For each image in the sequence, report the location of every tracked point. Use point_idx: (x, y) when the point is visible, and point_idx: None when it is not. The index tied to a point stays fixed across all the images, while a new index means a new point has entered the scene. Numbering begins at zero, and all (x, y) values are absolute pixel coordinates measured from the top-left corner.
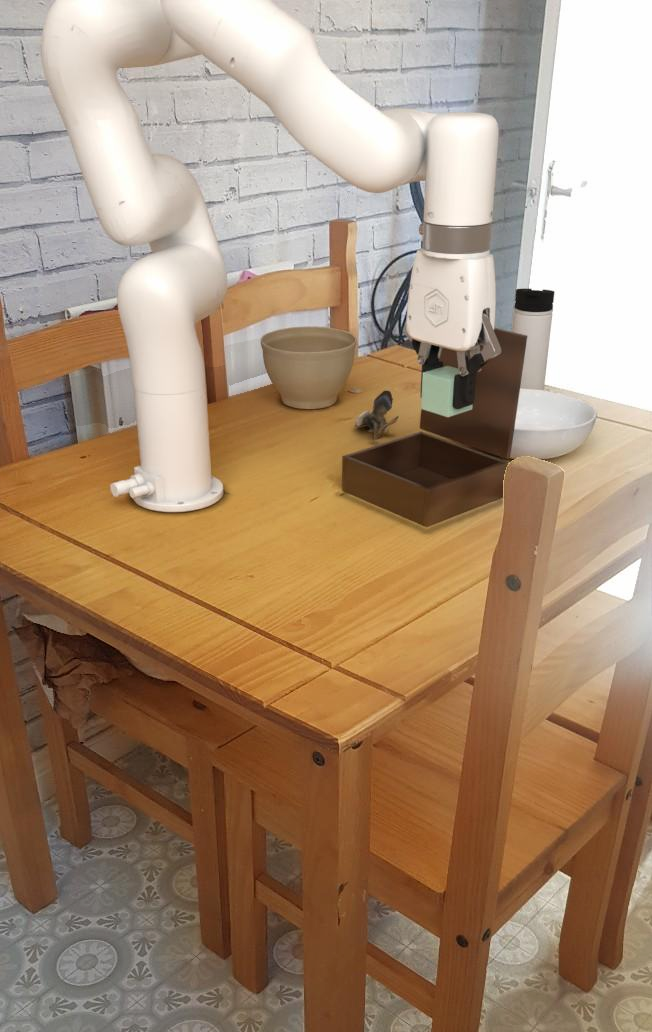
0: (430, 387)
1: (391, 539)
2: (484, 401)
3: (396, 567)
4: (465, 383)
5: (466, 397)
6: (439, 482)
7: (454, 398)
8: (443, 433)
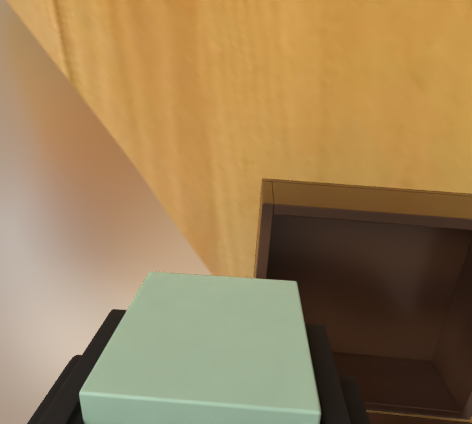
0: (246, 347)
1: (288, 110)
2: None
3: (202, 22)
4: (35, 422)
5: (70, 367)
6: (362, 332)
7: (110, 336)
8: (410, 422)
